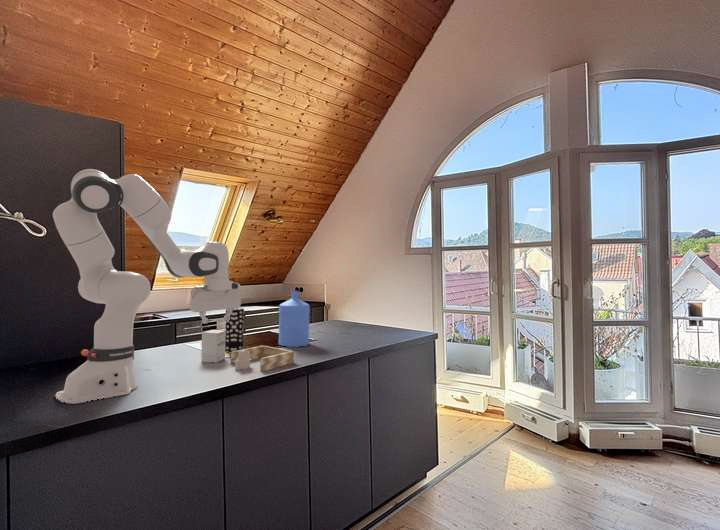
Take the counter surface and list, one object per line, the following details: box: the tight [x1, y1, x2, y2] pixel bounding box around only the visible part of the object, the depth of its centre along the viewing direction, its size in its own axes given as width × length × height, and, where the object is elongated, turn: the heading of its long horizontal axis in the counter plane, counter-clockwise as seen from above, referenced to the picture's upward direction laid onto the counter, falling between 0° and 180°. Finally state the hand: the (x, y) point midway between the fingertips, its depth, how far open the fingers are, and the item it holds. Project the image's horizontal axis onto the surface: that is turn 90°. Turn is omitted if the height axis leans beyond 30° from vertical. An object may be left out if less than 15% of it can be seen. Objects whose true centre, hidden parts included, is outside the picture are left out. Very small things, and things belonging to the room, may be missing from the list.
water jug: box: [277, 290, 311, 348], centre depth 218 cm, size 16×16×28 cm
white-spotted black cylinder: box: [225, 307, 245, 353], centre depth 201 cm, size 8×8×20 cm
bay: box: [230, 345, 295, 372], centre depth 177 cm, size 18×19×5 cm
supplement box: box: [200, 329, 226, 364], centre depth 181 cm, size 7×7×13 cm
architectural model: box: [233, 350, 252, 371], centre depth 170 cm, size 3×7×7 cm, turn 142°
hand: (216, 321), depth 159 cm, fingers open, 8 cm apart
